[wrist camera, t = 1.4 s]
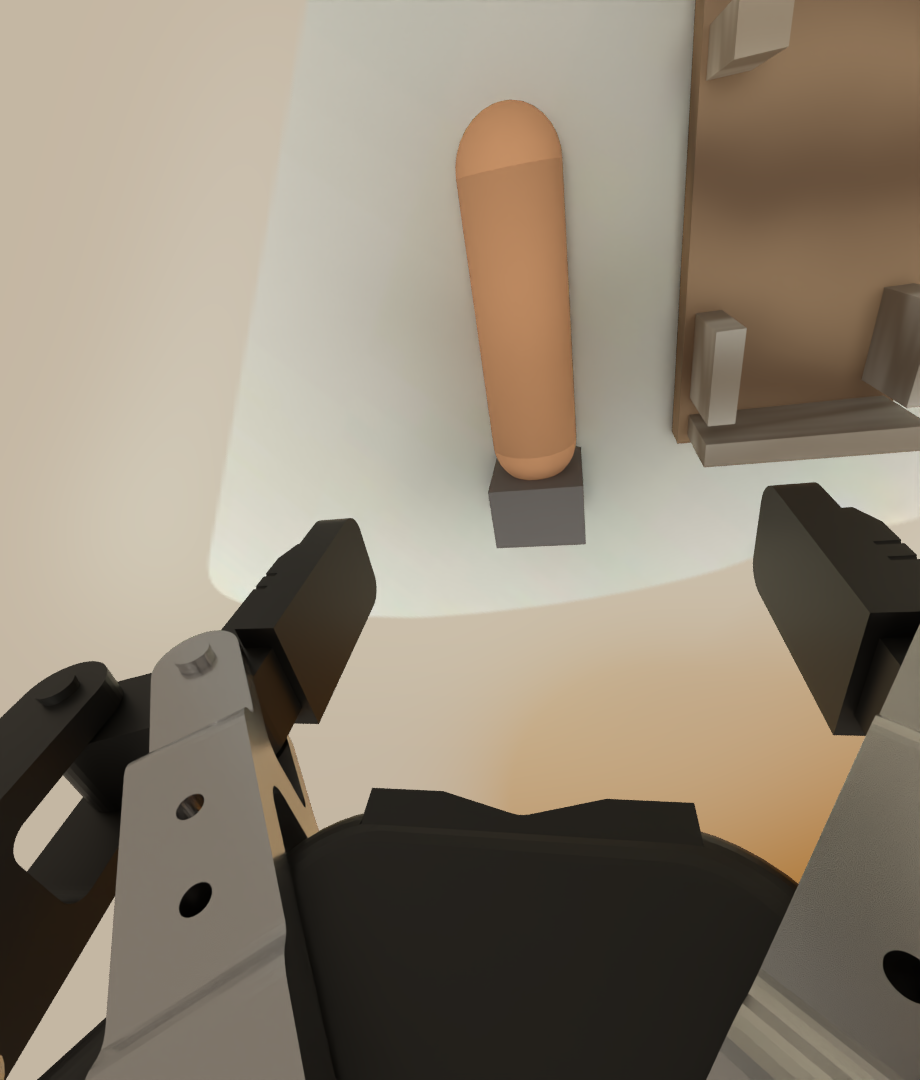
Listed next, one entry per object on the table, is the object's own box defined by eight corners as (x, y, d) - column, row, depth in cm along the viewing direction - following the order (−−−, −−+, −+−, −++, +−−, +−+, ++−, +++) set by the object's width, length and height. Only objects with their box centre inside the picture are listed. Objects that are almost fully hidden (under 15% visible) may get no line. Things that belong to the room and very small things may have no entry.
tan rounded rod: (452, 121, 21) (428, 107, 17) (564, 95, 20) (564, 73, 16) (504, 505, 30) (496, 548, 26) (583, 500, 29) (585, 544, 25)
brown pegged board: (709, -258, 15) (766, -428, 11) (1081, -394, 13) (1321, -664, 9) (672, 431, 26) (692, 476, 22) (869, 413, 24) (932, 459, 20)
